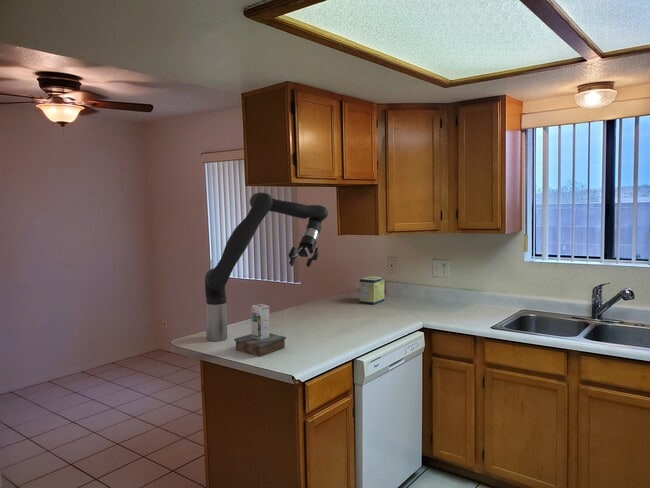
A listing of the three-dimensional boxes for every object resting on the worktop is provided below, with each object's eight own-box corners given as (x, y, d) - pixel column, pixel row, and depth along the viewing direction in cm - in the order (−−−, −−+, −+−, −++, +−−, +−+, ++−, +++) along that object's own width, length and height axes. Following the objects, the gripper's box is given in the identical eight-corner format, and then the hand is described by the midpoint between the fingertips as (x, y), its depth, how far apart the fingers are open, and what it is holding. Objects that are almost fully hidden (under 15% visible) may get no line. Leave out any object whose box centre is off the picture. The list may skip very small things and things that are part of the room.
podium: (234, 350, 212) (234, 338, 212) (260, 341, 225) (260, 331, 224) (260, 357, 202) (259, 345, 202) (286, 348, 215) (286, 337, 214)
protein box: (384, 300, 316) (384, 277, 314) (373, 305, 302) (374, 280, 301) (370, 299, 321) (370, 275, 320) (359, 303, 308) (359, 279, 307)
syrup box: (251, 337, 213) (250, 305, 212) (262, 335, 217) (261, 303, 216) (259, 340, 209) (258, 307, 208) (270, 337, 213) (269, 305, 212)
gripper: (293, 234, 237) (283, 260, 227) (320, 234, 231) (310, 261, 222) (298, 244, 242) (288, 269, 233) (324, 244, 237) (315, 271, 227)
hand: (299, 265), depth 227 cm, fingers open, 8 cm apart
